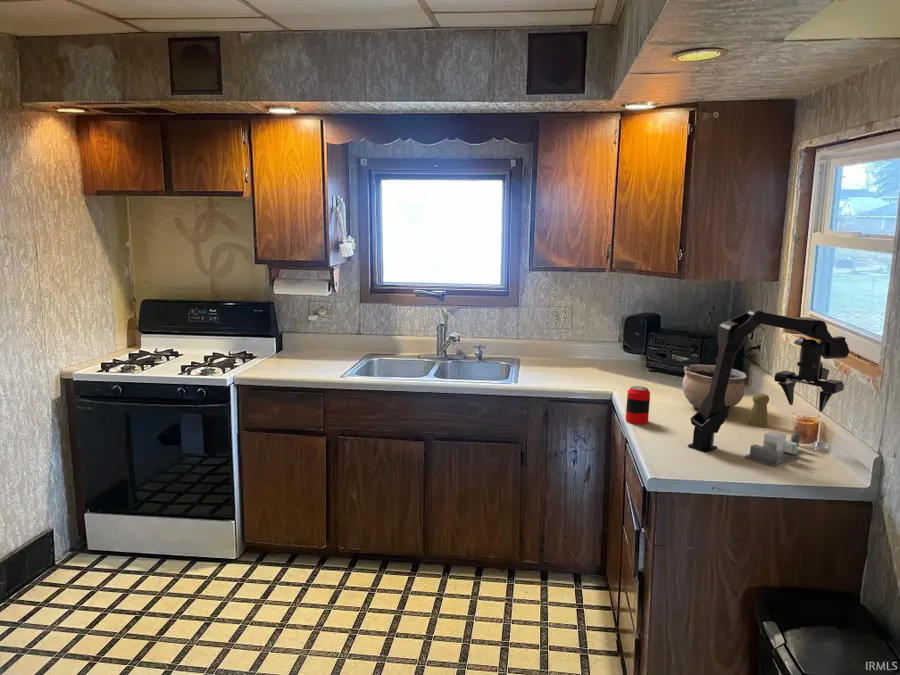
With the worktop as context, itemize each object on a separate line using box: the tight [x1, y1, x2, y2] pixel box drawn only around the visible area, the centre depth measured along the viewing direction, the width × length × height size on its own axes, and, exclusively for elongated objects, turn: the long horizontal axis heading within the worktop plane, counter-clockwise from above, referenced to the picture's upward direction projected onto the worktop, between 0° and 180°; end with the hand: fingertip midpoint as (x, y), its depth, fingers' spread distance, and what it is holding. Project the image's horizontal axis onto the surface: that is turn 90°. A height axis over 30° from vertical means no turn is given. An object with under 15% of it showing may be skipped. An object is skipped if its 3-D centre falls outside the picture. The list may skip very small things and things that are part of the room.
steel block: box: [762, 430, 787, 458], centre depth 204 cm, size 5×4×6 cm
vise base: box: [744, 444, 801, 468], centre depth 204 cm, size 15×9×4 cm, turn 127°
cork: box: [748, 392, 770, 428], centre depth 236 cm, size 6×6×11 cm
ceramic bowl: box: [682, 364, 748, 410], centre depth 253 cm, size 22×22×15 cm
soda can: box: [625, 385, 651, 426], centre depth 237 cm, size 8×8×12 cm
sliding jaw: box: [784, 432, 801, 454], centre depth 210 cm, size 9×7×4 cm
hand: (805, 408), depth 212 cm, fingers open, 9 cm apart
